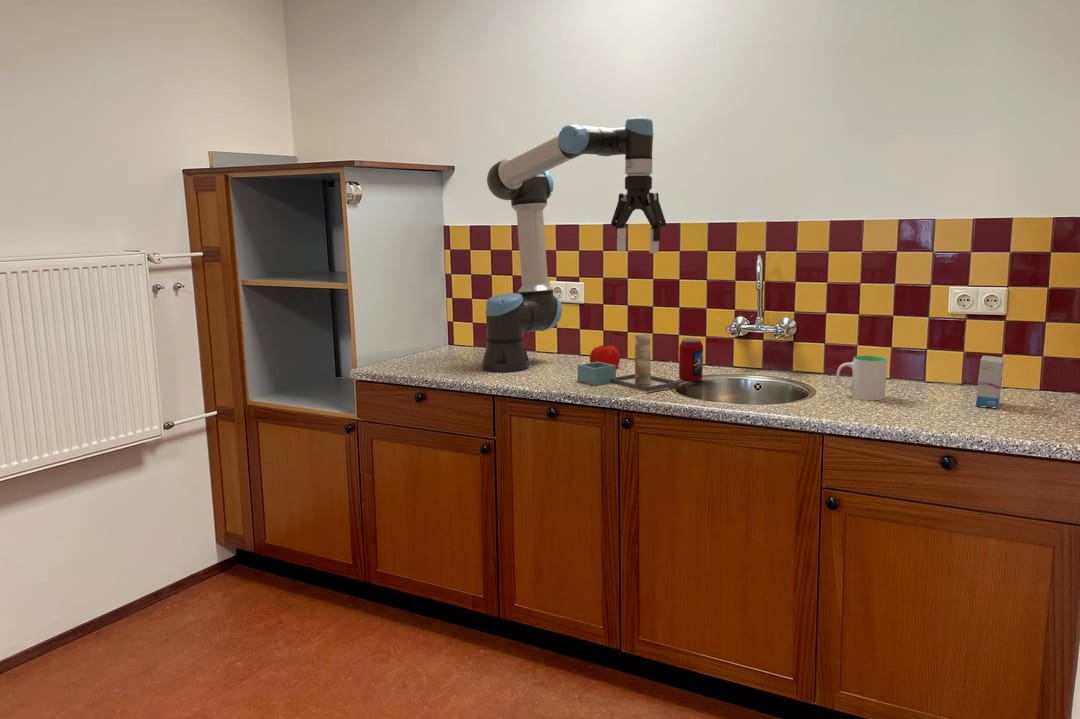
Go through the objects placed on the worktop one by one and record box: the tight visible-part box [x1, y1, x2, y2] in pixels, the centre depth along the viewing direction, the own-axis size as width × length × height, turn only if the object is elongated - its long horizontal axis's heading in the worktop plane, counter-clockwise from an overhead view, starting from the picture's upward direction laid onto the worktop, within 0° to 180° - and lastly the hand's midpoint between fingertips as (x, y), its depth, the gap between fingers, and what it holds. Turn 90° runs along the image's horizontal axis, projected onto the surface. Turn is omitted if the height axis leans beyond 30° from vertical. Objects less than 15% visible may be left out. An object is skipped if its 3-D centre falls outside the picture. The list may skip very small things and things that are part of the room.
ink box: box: [975, 355, 1005, 409], centre depth 199 cm, size 9×5×12 cm, turn 148°
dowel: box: [634, 333, 652, 386], centre depth 226 cm, size 4×4×14 cm
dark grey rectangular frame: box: [611, 373, 680, 395], centre depth 227 cm, size 16×12×2 cm
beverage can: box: [678, 338, 704, 383], centre depth 233 cm, size 7×7×12 cm
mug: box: [836, 355, 888, 401], centre depth 210 cm, size 12×8×10 cm
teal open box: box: [576, 362, 617, 386], centre depth 231 cm, size 8×8×6 cm
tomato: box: [589, 344, 621, 369], centre depth 252 cm, size 9×9×8 cm
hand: (637, 252), depth 228 cm, fingers open, 13 cm apart
